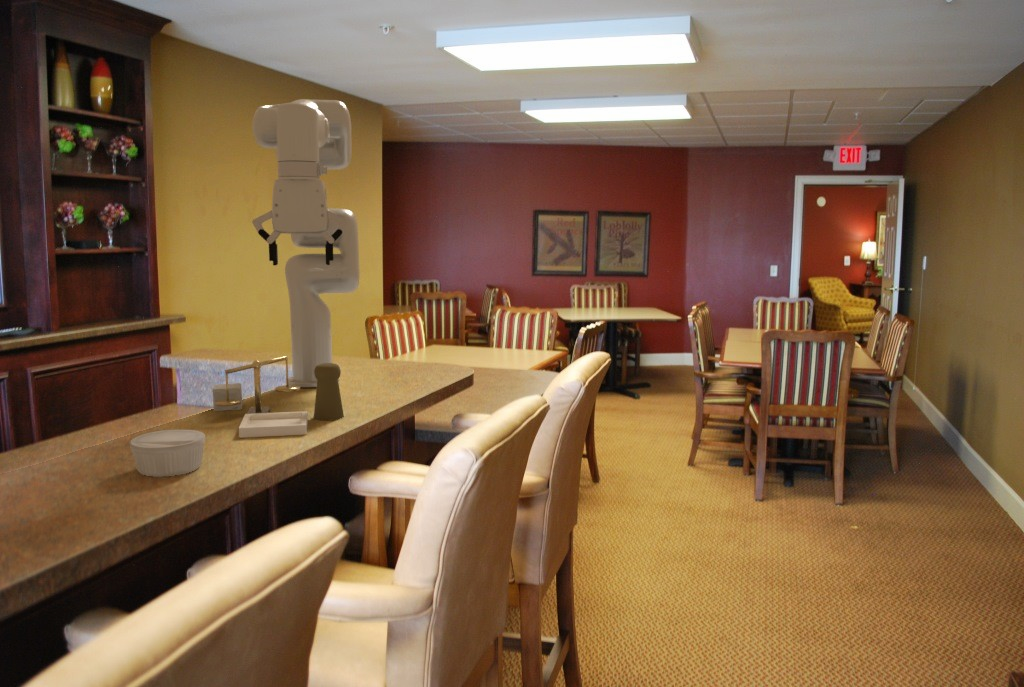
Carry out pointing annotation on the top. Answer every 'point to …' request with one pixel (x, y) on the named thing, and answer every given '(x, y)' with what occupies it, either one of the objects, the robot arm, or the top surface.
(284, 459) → the top surface
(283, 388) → the balance
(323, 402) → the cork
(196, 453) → the ramekin
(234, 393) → the small box
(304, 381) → the robot arm
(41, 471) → the top surface
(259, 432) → the dish
